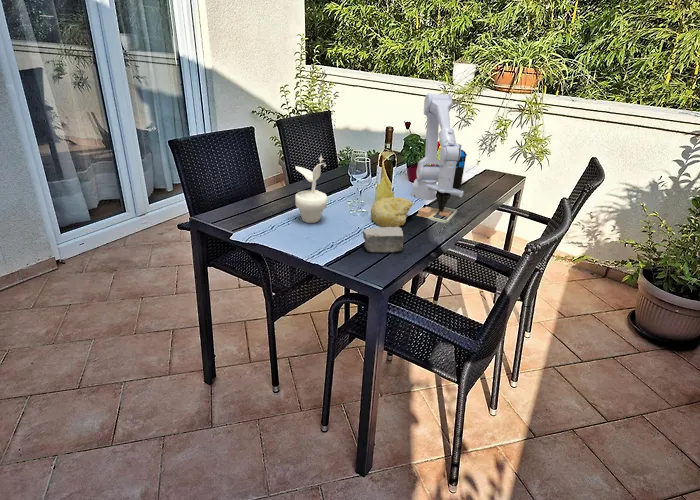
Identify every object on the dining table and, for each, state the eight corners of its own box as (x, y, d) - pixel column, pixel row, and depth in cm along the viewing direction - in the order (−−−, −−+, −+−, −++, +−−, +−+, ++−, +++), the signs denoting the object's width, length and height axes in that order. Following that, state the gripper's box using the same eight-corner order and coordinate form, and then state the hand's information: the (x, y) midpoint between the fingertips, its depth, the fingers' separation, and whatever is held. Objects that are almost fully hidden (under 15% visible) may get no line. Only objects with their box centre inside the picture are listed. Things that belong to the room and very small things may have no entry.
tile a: (438, 217, 178) (439, 212, 177) (441, 214, 182) (442, 209, 181) (448, 219, 177) (449, 214, 176) (451, 216, 180) (452, 211, 179)
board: (415, 218, 177) (416, 215, 176) (425, 209, 186) (426, 206, 186) (430, 222, 174) (430, 218, 174) (439, 213, 184) (440, 209, 183)
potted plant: (332, 219, 171) (335, 153, 160) (314, 228, 162) (316, 160, 151) (304, 211, 177) (306, 147, 166) (286, 220, 168) (286, 153, 157)
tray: (429, 223, 173) (430, 217, 172) (440, 212, 185) (441, 206, 184) (445, 227, 171) (446, 220, 170) (456, 215, 182) (457, 210, 181)
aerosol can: (440, 183, 220) (447, 142, 211) (455, 183, 222) (462, 142, 214) (449, 189, 213) (455, 146, 204) (464, 188, 215) (471, 146, 207)
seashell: (363, 226, 174) (383, 233, 160) (362, 198, 171) (382, 202, 158) (401, 220, 180) (422, 227, 167) (400, 193, 178) (422, 198, 165)
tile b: (417, 215, 176) (418, 210, 175) (421, 212, 179) (421, 207, 178) (427, 217, 175) (428, 212, 174) (430, 214, 178) (431, 209, 177)
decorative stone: (410, 251, 151) (393, 239, 158) (413, 233, 148) (395, 221, 155) (374, 260, 144) (357, 247, 151) (376, 241, 140) (359, 228, 148)
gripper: (424, 176, 173) (420, 209, 179) (462, 183, 167) (456, 217, 173) (430, 171, 178) (426, 204, 184) (467, 178, 173) (461, 212, 178)
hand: (441, 210), depth 179 cm, fingers closed
